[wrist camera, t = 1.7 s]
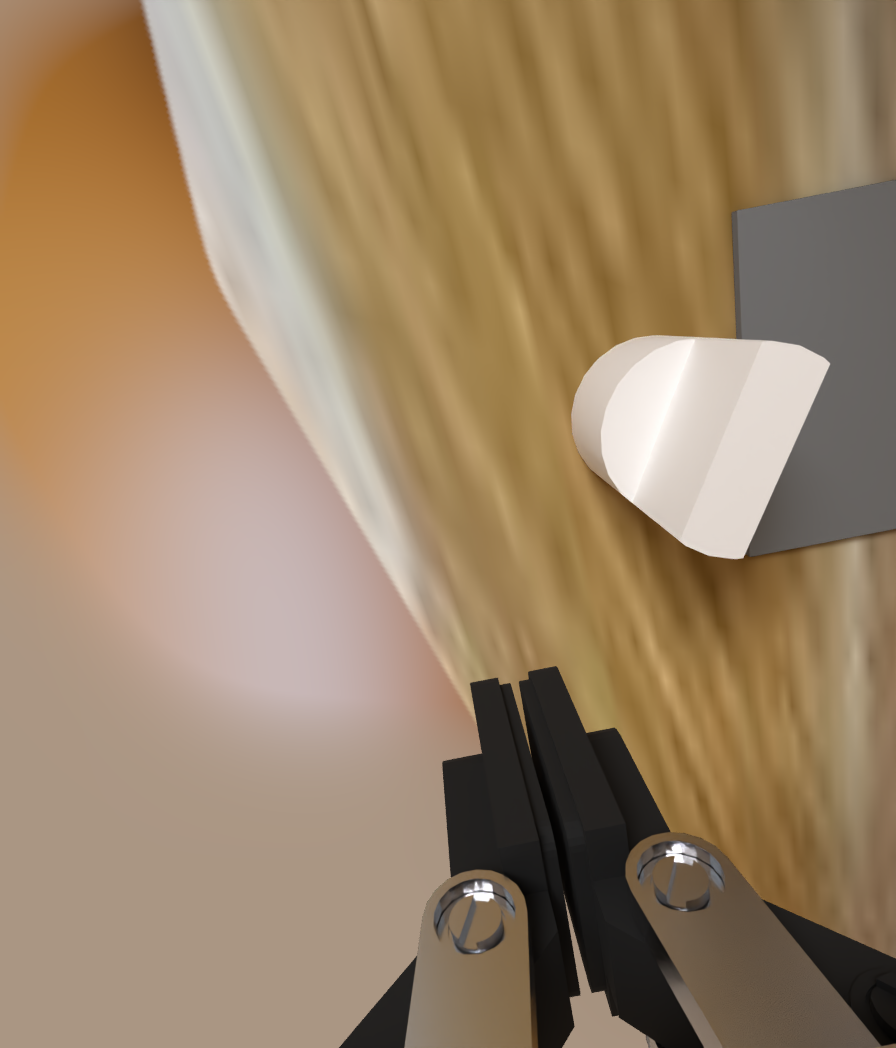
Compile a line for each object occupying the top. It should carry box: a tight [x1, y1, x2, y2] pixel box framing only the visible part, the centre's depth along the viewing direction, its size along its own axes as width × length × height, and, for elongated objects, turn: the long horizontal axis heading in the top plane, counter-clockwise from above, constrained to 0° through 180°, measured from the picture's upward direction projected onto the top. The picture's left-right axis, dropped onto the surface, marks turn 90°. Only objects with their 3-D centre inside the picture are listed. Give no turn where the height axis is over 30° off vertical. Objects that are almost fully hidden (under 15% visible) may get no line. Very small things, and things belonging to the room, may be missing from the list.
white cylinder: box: [571, 335, 830, 559], centre depth 31 cm, size 9×9×12 cm
